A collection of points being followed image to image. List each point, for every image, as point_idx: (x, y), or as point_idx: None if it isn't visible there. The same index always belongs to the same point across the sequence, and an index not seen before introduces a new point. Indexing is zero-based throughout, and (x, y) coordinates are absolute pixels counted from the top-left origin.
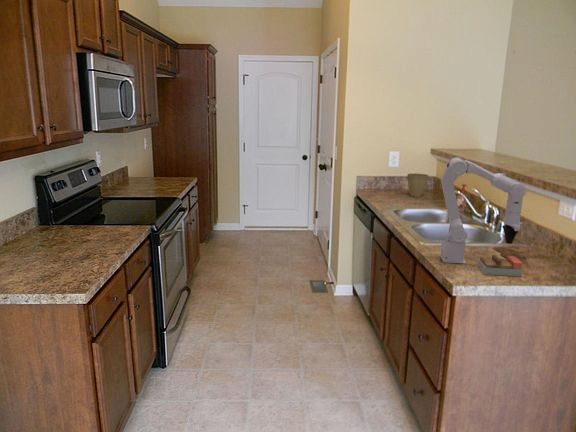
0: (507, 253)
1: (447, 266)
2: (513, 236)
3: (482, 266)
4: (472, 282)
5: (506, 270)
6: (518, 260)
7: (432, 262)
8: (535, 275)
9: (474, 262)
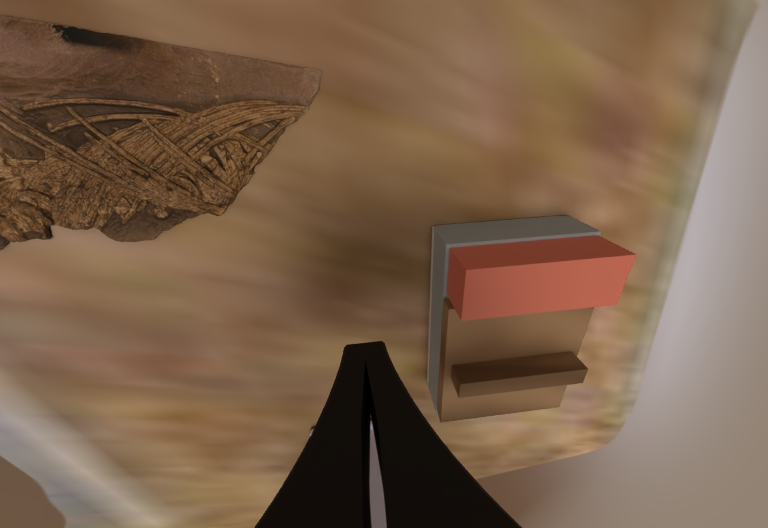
0: (49, 180)
1: None
2: (407, 426)
3: None
4: (605, 406)
5: None
6: (573, 267)
7: None
8: (547, 106)
9: None
